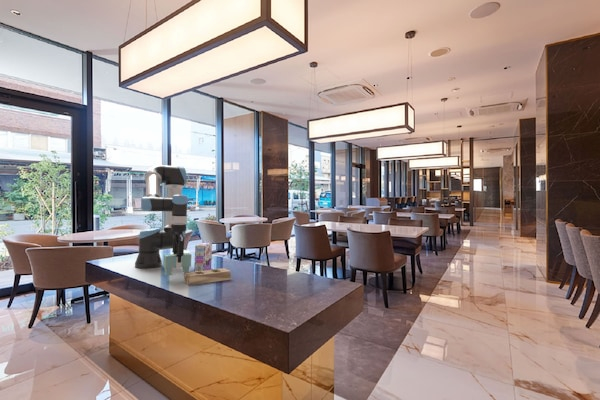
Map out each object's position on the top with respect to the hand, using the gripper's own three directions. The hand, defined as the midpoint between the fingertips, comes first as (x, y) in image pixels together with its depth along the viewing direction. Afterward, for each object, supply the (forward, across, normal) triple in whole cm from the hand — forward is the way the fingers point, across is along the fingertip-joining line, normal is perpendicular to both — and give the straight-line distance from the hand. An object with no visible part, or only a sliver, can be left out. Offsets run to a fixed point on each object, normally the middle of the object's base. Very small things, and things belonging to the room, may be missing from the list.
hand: (177, 267), depth 158 cm
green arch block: (+3, 0, 0) cm, 3 cm away
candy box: (+7, -10, +18) cm, 22 cm away
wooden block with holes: (+6, +11, +13) cm, 18 cm away
